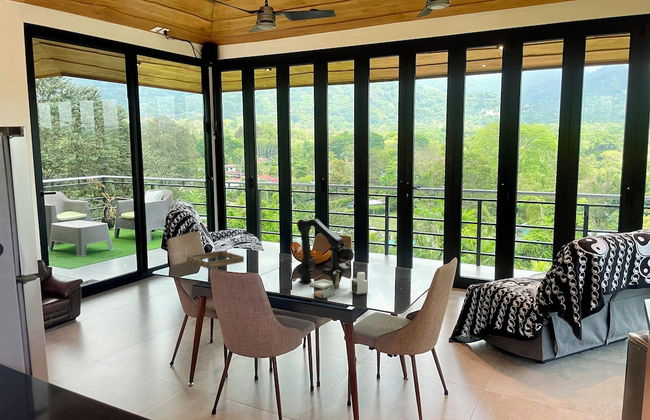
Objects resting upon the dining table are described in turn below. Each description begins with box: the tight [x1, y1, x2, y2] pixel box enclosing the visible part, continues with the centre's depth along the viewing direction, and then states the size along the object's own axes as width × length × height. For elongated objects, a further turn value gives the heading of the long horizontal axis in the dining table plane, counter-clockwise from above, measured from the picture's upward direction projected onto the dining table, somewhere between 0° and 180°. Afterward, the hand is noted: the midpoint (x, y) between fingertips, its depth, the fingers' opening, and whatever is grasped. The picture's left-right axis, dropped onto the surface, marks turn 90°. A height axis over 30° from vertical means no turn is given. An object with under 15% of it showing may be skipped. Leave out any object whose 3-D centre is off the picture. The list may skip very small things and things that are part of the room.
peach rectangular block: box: [313, 289, 325, 298], centre depth 282 cm, size 6×7×2 cm
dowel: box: [333, 273, 340, 290], centre depth 296 cm, size 3×3×9 cm
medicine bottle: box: [351, 270, 369, 295], centre depth 287 cm, size 7×7×12 cm
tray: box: [309, 278, 334, 290], centre depth 301 cm, size 12×12×2 cm
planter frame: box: [186, 250, 245, 269], centre depth 364 cm, size 29×29×4 cm
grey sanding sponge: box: [322, 287, 336, 299], centre depth 279 cm, size 2×8×4 cm, turn 134°
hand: (336, 284), depth 296 cm, fingers closed on dowel, 3 cm apart
